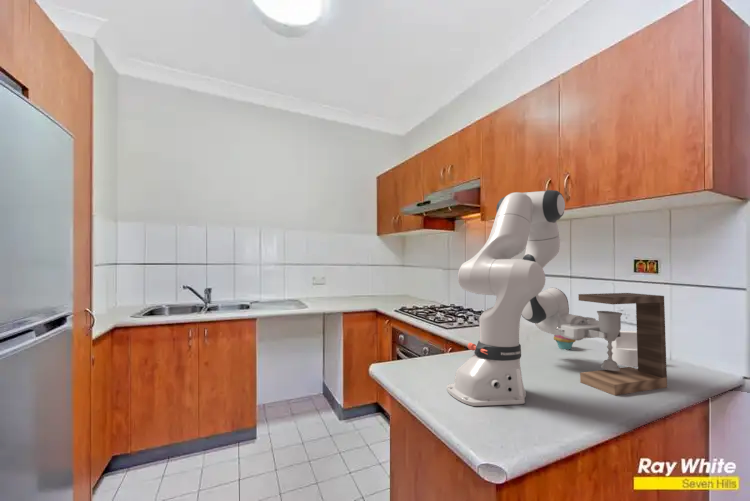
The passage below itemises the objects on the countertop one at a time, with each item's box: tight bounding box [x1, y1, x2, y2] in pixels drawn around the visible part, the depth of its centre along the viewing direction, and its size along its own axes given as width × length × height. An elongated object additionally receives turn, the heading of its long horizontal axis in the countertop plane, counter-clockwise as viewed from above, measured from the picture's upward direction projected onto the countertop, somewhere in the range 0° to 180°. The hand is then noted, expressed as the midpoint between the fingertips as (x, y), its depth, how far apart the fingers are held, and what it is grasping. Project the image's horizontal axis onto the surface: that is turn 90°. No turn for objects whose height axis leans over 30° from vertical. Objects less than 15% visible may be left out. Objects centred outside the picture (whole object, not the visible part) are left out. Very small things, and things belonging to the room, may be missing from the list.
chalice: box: [596, 310, 623, 371], centre depth 107 cm, size 7×7×18 cm
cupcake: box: [553, 335, 577, 350], centre depth 148 cm, size 9×8×12 cm
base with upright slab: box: [611, 330, 638, 368], centre depth 126 cm, size 9×9×12 cm
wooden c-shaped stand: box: [578, 292, 668, 396], centre depth 103 cm, size 22×11×28 cm, turn 108°
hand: (612, 335), depth 106 cm, fingers closed on chalice, 5 cm apart
